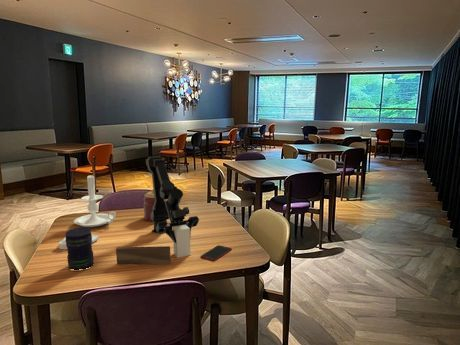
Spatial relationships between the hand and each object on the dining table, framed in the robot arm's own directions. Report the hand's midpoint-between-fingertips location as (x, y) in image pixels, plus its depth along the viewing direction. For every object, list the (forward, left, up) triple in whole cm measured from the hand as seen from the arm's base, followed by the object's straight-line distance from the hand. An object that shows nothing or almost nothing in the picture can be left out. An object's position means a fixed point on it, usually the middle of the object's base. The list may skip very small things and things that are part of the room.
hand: (182, 241), depth 156 cm
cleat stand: (-12, -10, -7) cm, 17 cm away
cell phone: (+12, +9, -7) cm, 16 cm away
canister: (-45, +35, -7) cm, 57 cm away
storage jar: (-31, -28, -7) cm, 43 cm away
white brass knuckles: (-53, -12, -7) cm, 55 cm away
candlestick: (-66, +11, -7) cm, 67 cm away
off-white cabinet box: (-1, +1, -7) cm, 7 cm away
